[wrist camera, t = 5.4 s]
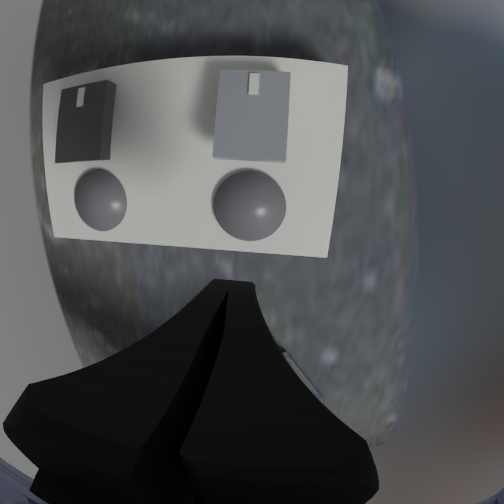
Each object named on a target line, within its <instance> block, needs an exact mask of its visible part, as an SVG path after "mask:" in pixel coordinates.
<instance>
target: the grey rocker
mask: <svg viewBox="0 0 504 504" xmlns="http://www.w3.org/2000/svg"><path fill="white" fill-rule="evenodd" d="M290 75H291V72H281V71H265V70H220V76H219V86H218V96H217V106H216V118H215V129H214V142H213V155H212V157H213V158H215V159H220V160H243V161H260V162H274V163H285V162H286V151H287V134H288V116H289V97H290Z"/></svg>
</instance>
